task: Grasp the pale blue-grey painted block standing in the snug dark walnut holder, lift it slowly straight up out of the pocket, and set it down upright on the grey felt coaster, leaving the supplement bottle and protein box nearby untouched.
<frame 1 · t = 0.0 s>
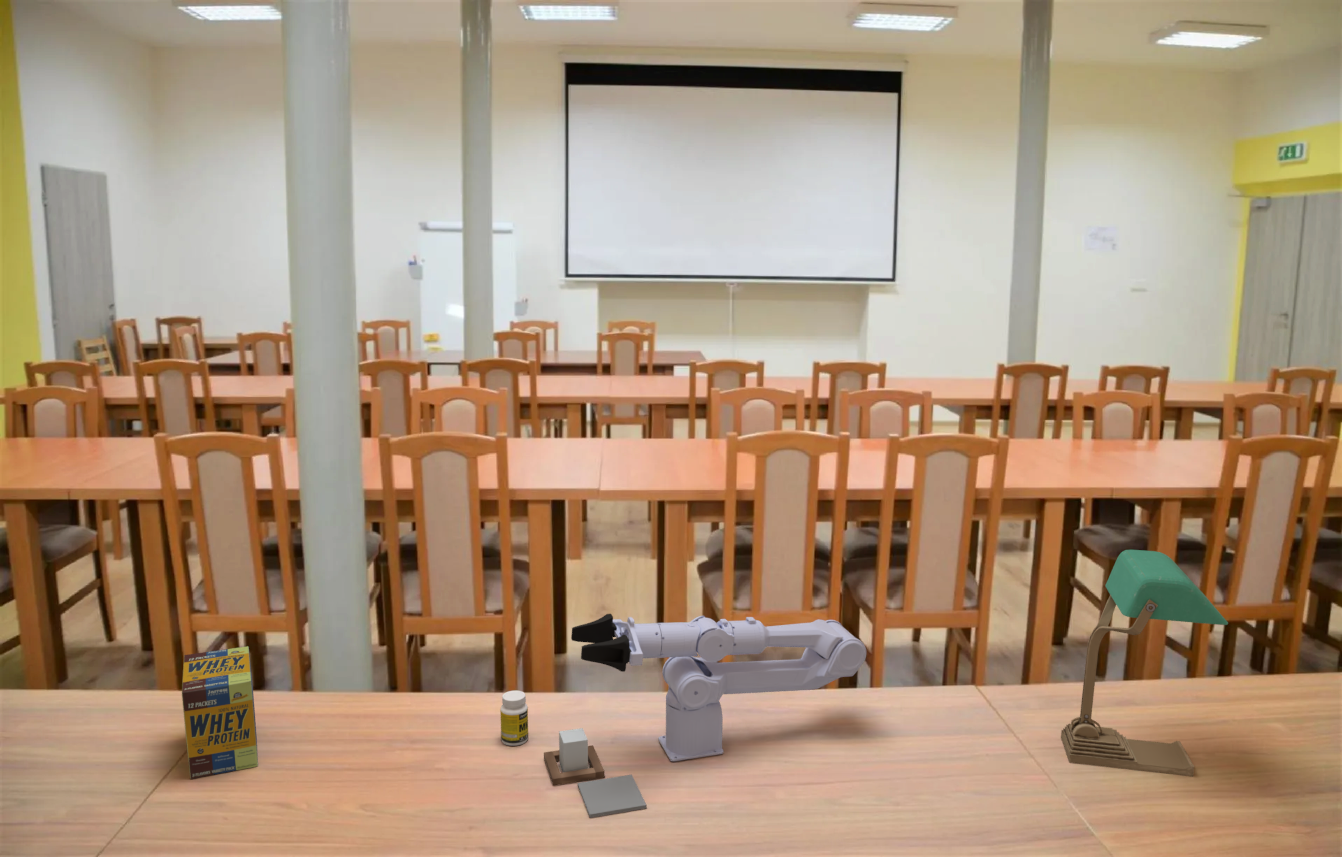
hand: (576, 643, 163), 22 cm above the table, tool horizontal, fingers open, 7 cm apart
banker's lamp: (1129, 757, 171), on the table
holder: (573, 768, 166), on the table
protein box: (224, 752, 171), on the table
coaster: (611, 797, 158), on the table
supplement bottle: (514, 740, 175), on the table
block: (573, 752, 166), in the holder
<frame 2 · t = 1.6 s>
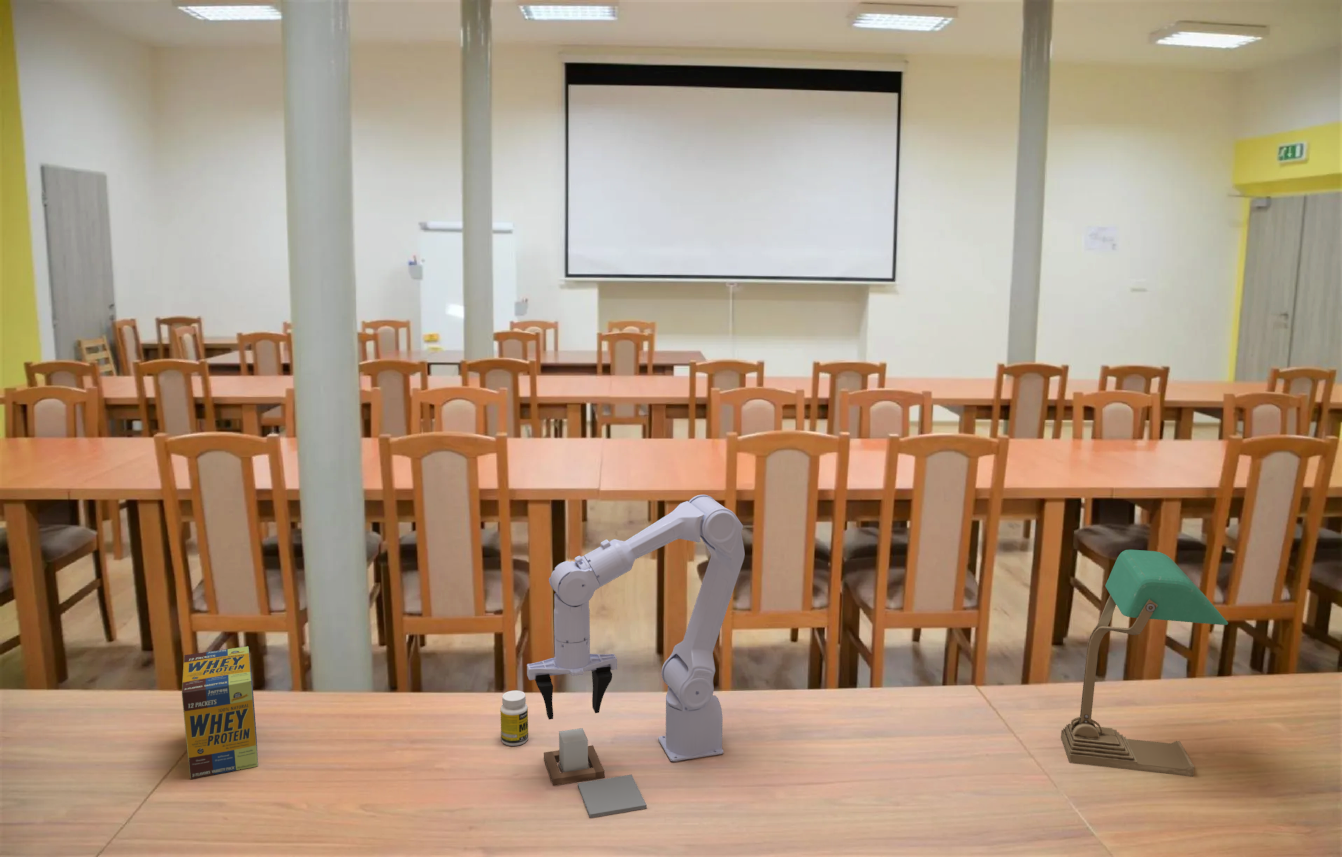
hand: (573, 713, 164), 10 cm above the table, tool pointing down, fingers open, 7 cm apart
nothing on the table moved.
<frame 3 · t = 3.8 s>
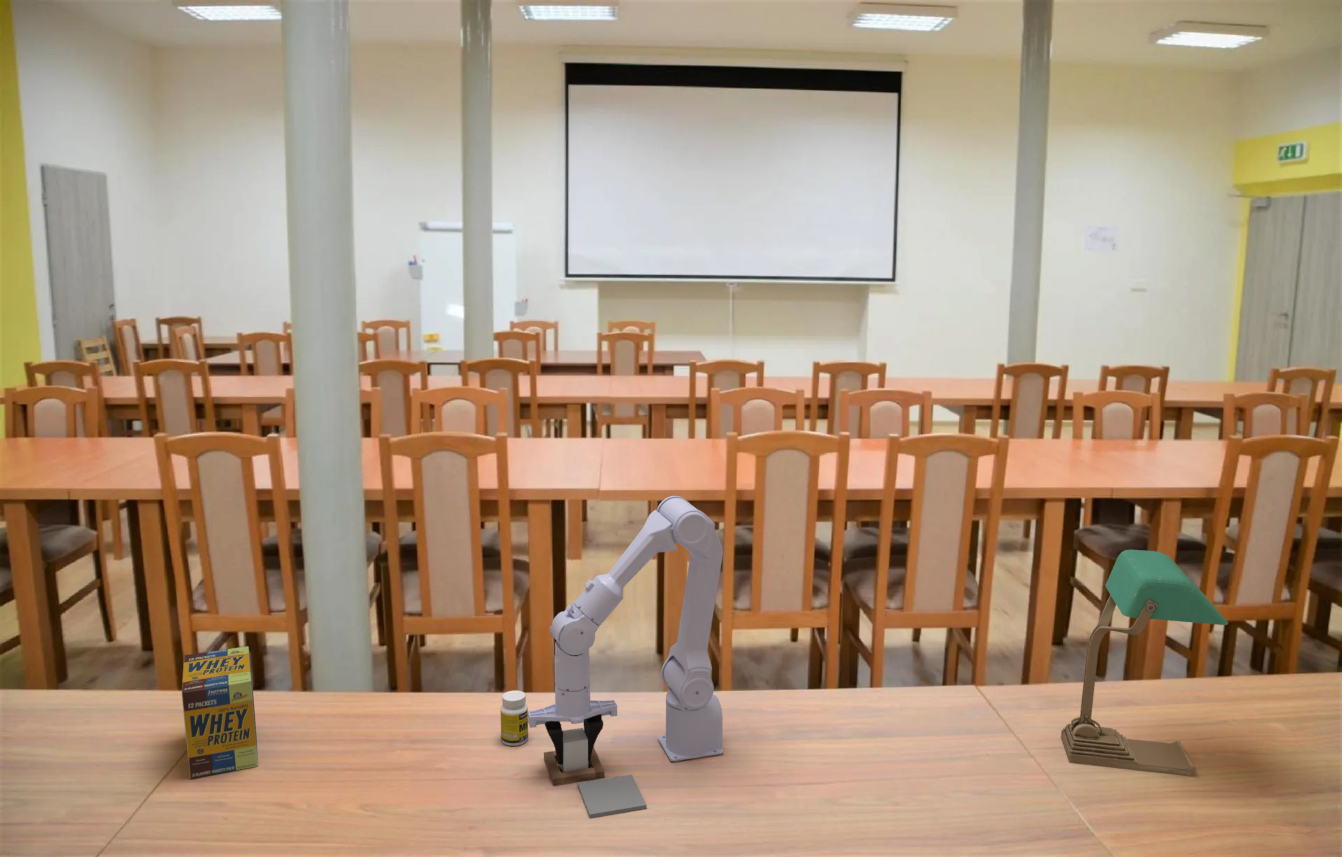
hand: (573, 759, 166), 2 cm above the table, tool pointing down, fingers closed on block, 4 cm apart
block: (573, 751, 166), in the holder, touching gripper
everything else where it was.
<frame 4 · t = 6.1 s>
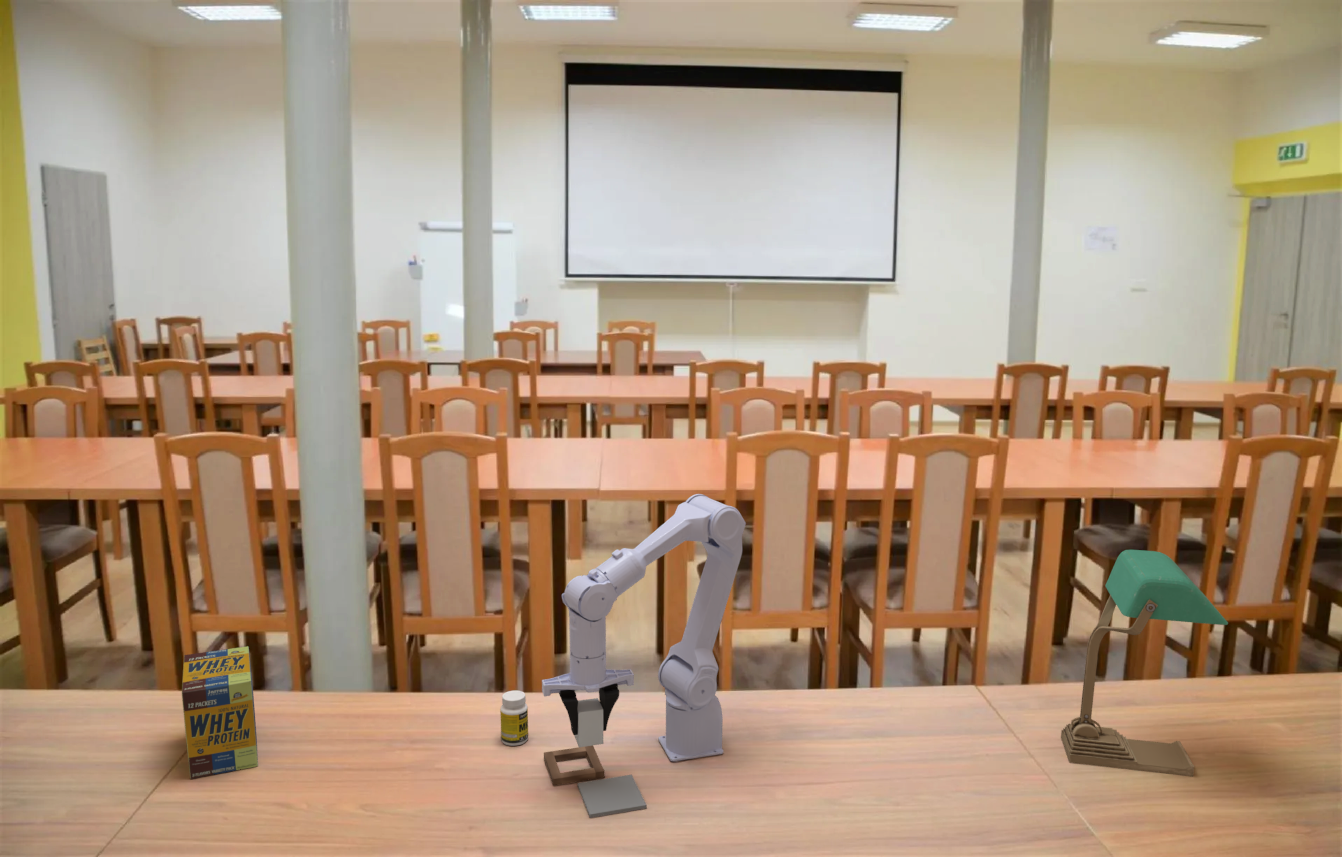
hand: (588, 729, 161), 9 cm above the table, tool pointing down, fingers closed on block, 4 cm apart
block: (588, 722, 161), point 10 cm above the table, touching gripper
everything else where it was.
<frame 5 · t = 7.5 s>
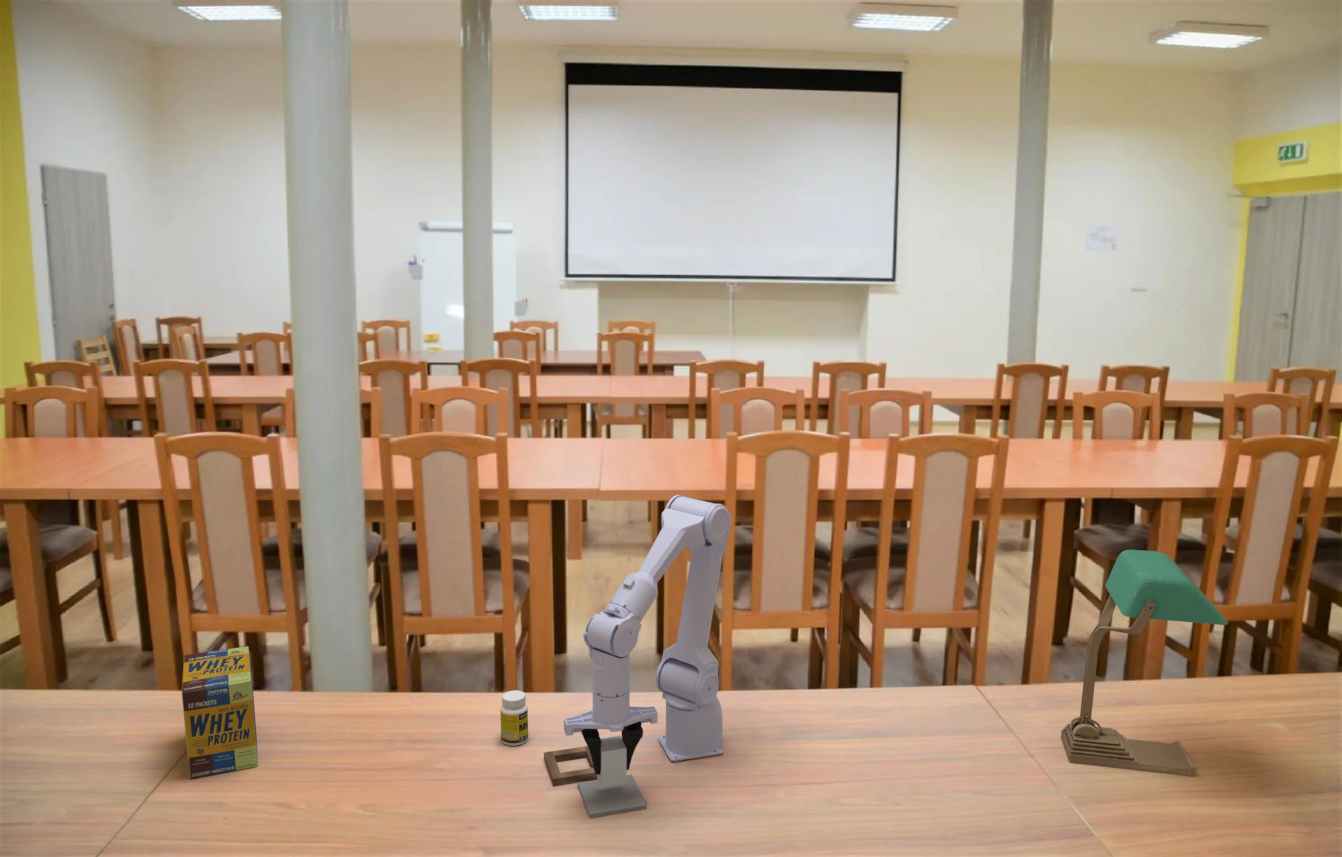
hand: (611, 769, 157), 5 cm above the table, tool pointing down, fingers closed on block, 4 cm apart
block: (610, 761, 157), point 6 cm above the table, touching gripper
everything else where it was.
when the fingers open (3 cm above the table, at t = 8.7 s): block drops 1 cm, resting on coaster.
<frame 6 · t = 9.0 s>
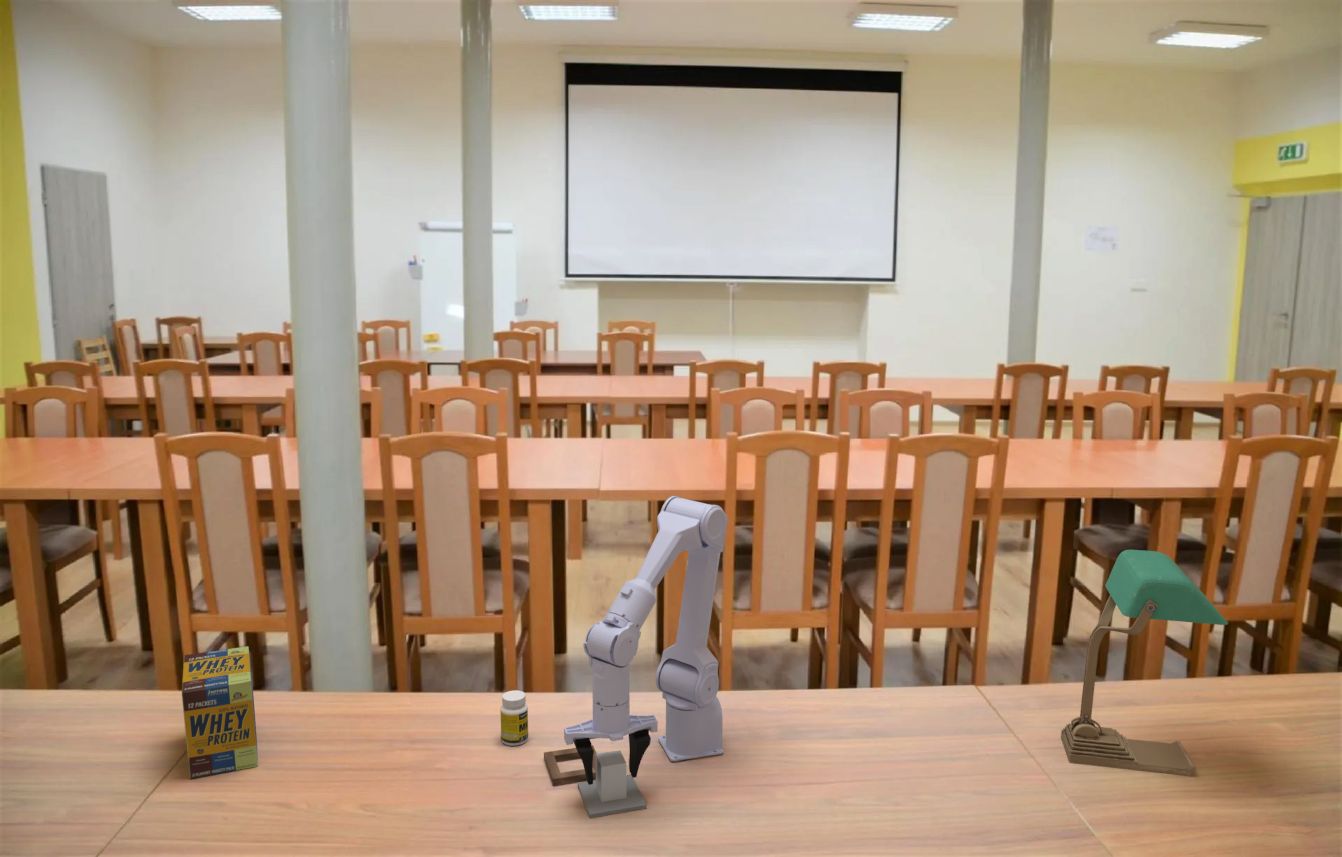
hand: (611, 777, 157), 3 cm above the table, tool pointing down, fingers open, 6 cm apart
block: (611, 775, 157), on the coaster, point 4 cm above the table
everything else where it was.
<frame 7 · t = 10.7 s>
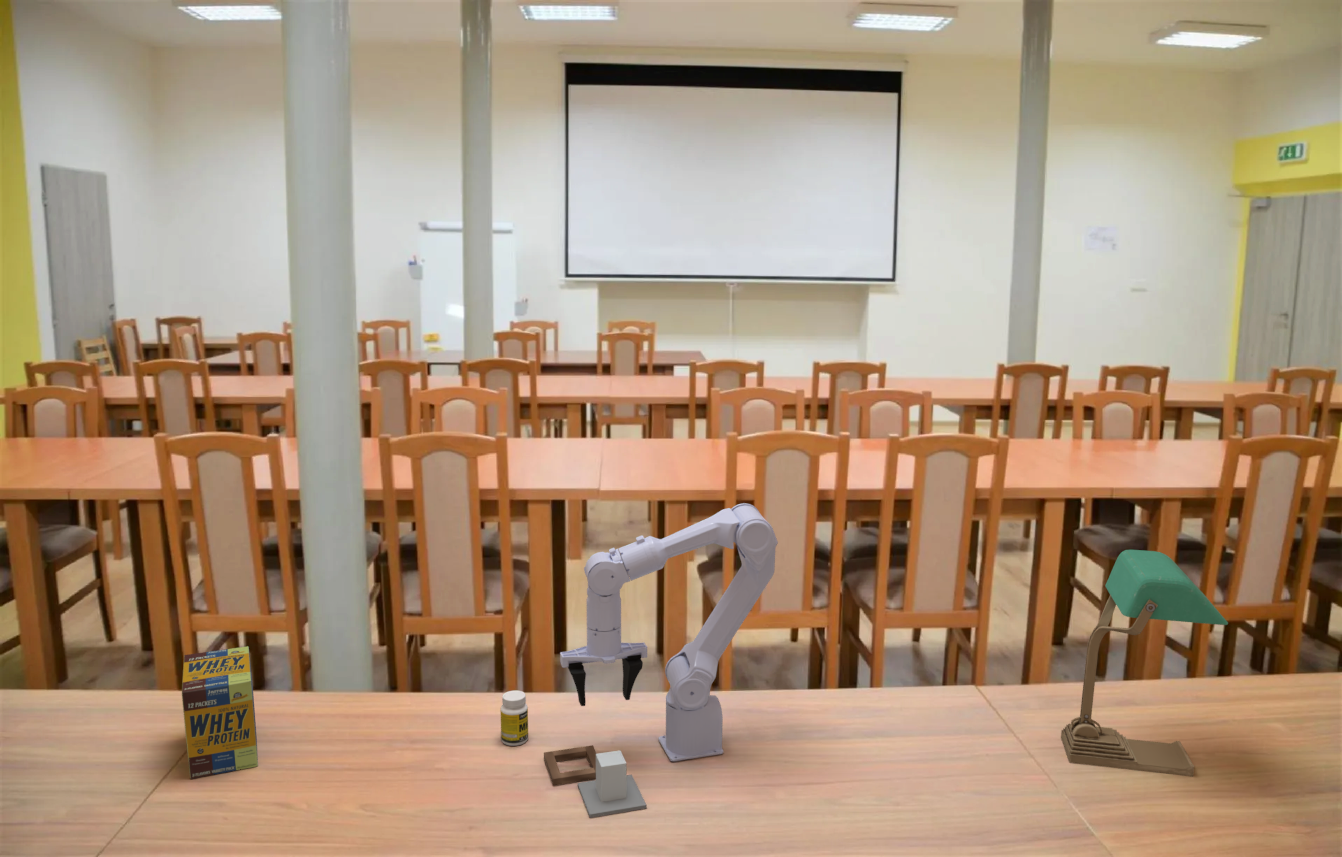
hand: (604, 700, 169), 10 cm above the table, tool pointing down, fingers open, 7 cm apart
nothing on the table moved.
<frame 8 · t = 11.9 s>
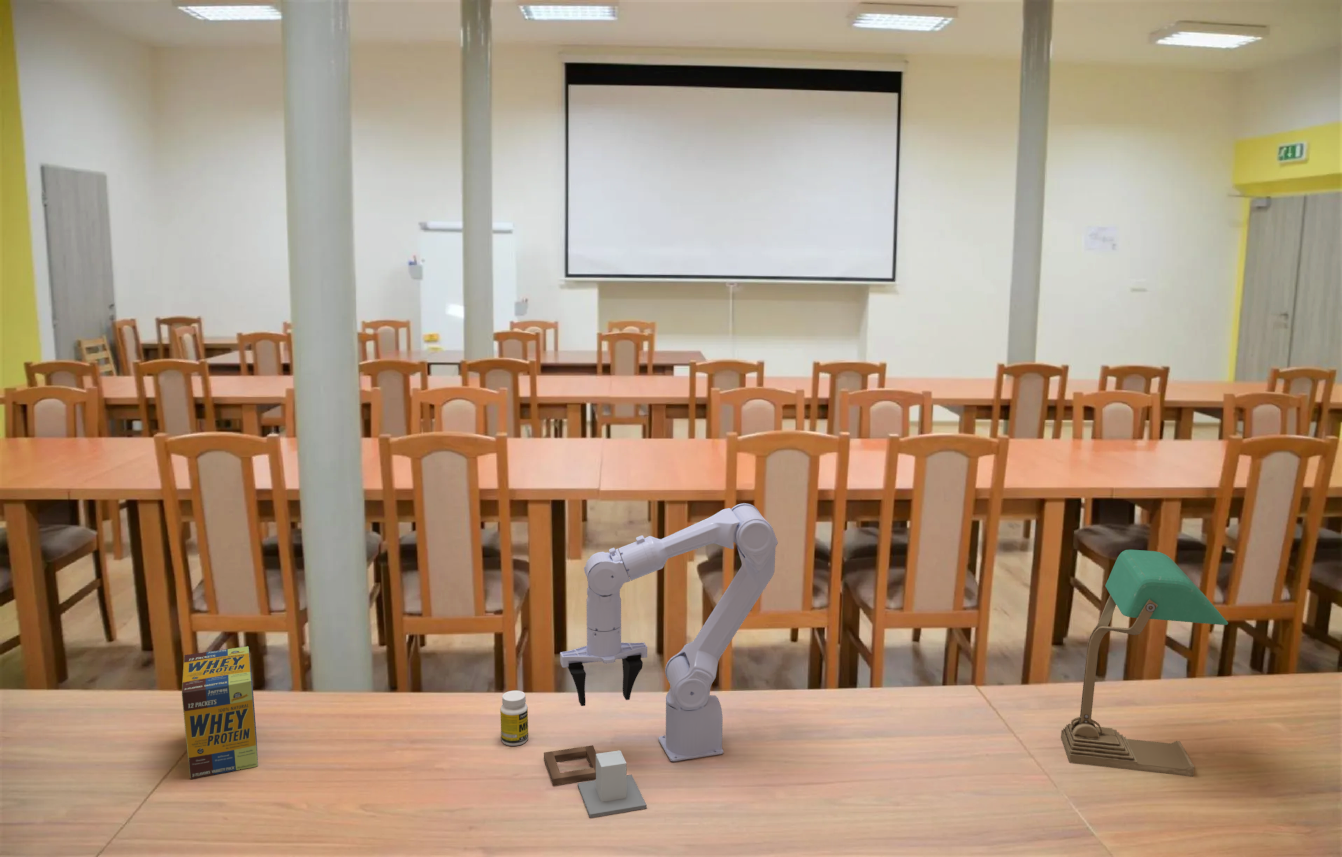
hand: (604, 700, 169), 10 cm above the table, tool pointing down, fingers open, 7 cm apart
nothing on the table moved.
at the end: block inside the target area on the coaster (0.2 cm from its centre), point 3.6 cm above the coaster's base; block tilted 0°; the gripper is holding nothing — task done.
